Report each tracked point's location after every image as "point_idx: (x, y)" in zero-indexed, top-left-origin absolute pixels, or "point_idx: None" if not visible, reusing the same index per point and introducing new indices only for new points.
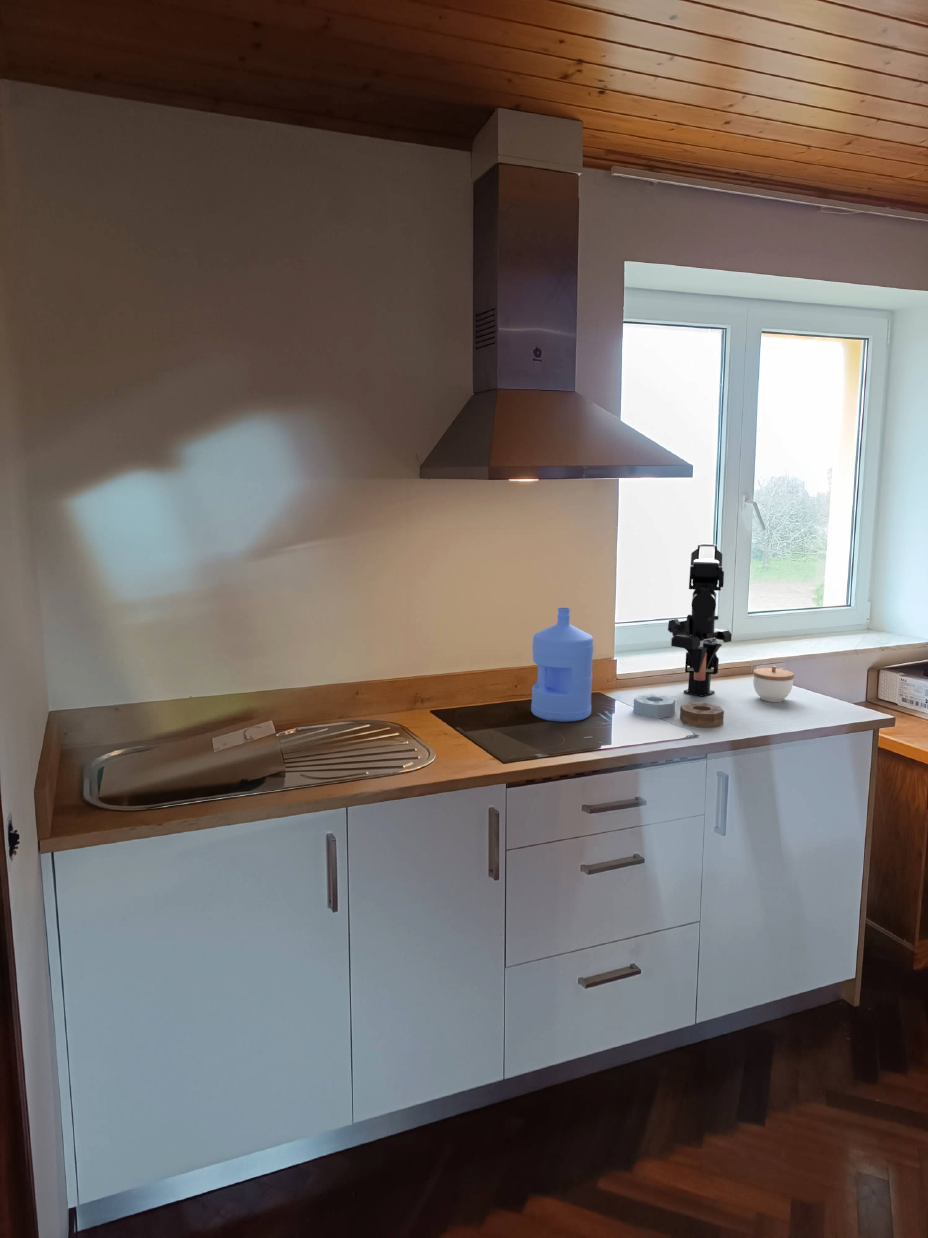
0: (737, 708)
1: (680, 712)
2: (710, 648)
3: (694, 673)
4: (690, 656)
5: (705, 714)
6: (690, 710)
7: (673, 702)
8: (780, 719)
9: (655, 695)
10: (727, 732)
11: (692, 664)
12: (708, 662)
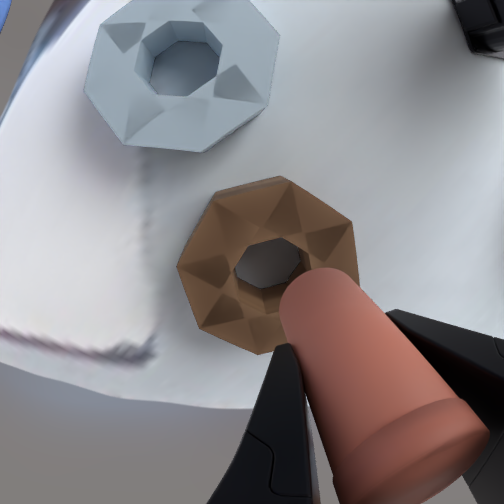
0: (473, 198)
1: (210, 203)
2: (501, 495)
3: (292, 319)
4: (229, 476)
5: (226, 339)
6: (200, 283)
7: (231, 129)
8: (460, 326)
9: (232, 9)
10: (254, 370)
11: (261, 393)
12: None
